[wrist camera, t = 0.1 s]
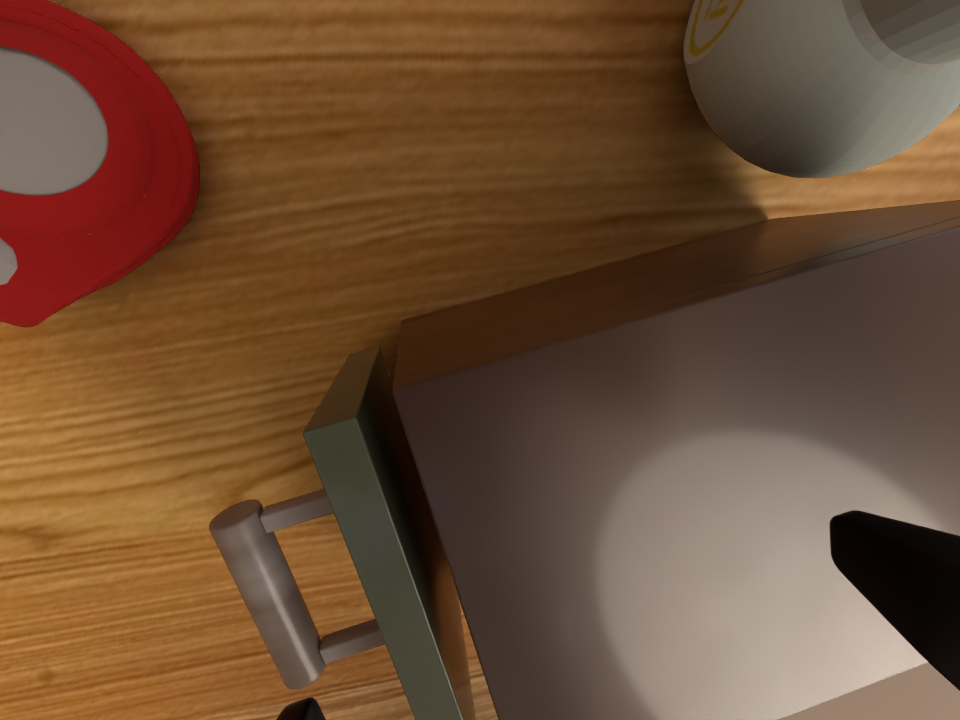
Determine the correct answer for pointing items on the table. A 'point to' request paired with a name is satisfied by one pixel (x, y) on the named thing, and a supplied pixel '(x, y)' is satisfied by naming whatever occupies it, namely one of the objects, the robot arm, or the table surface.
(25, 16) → the tracker holder
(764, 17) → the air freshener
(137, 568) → the table surface
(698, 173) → the table surface
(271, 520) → the drawer
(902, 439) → the cabinet
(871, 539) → the robot arm
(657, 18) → the table surface
